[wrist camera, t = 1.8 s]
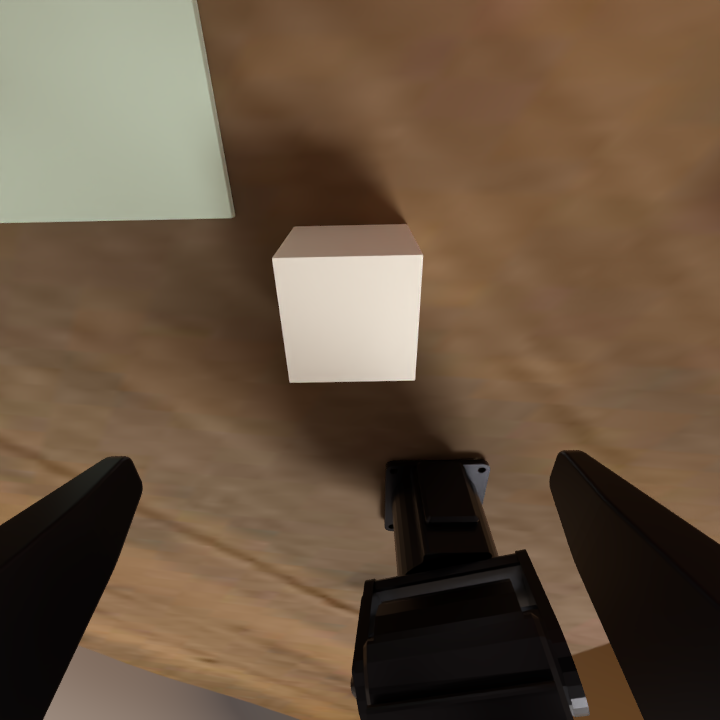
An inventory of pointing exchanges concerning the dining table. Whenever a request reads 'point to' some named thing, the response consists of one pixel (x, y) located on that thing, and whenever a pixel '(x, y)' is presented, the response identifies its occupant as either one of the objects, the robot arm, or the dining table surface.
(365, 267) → the cube
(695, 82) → the dining table surface
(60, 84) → the pad
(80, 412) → the dining table surface
